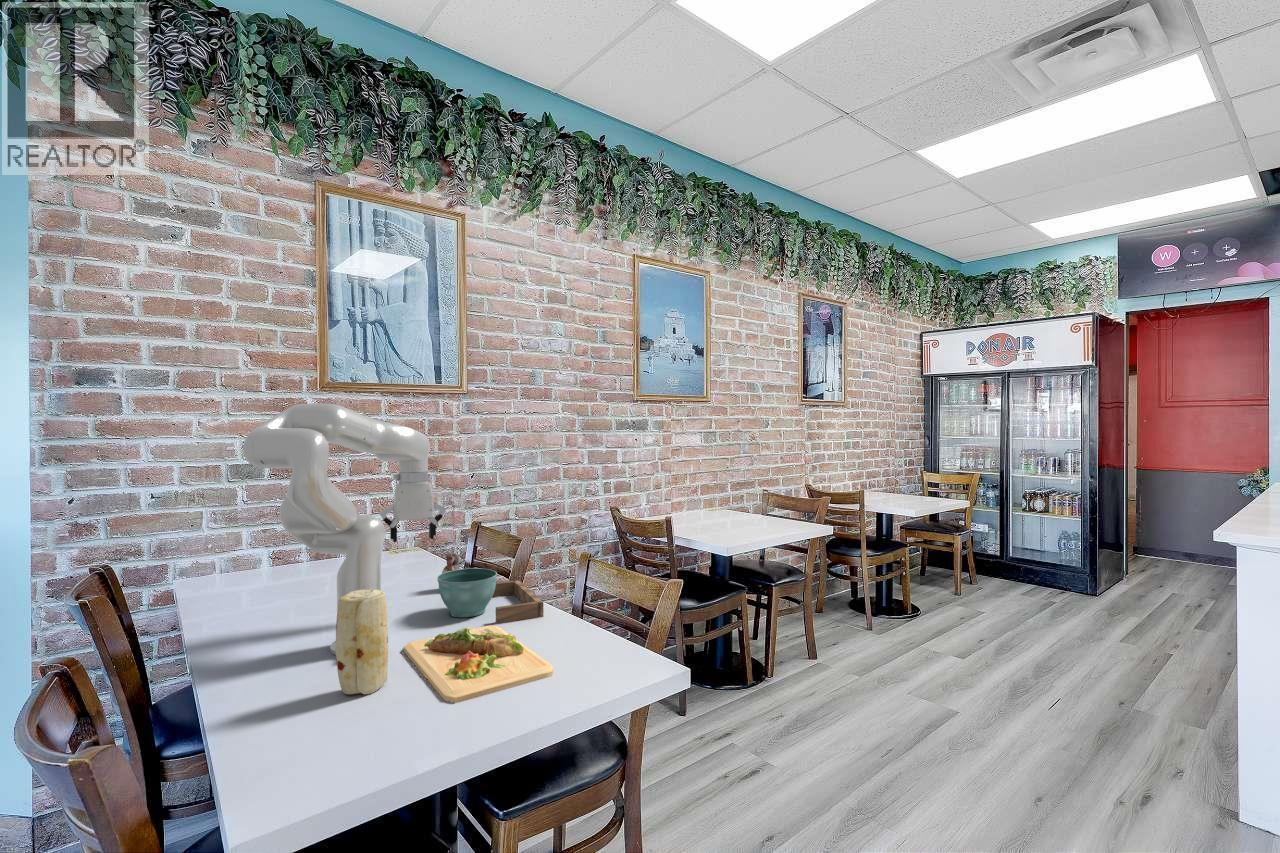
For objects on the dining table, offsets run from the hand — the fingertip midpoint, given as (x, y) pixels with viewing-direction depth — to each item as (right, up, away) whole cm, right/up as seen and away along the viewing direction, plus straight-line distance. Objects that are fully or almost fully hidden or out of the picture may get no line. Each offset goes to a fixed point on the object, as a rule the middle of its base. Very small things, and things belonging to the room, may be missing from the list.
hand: (413, 539), depth 164 cm
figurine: (+3, -21, +26) cm, 34 cm away
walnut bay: (+24, -21, +8) cm, 33 cm away
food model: (+7, -22, -46) cm, 51 cm away
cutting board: (+26, -22, -31) cm, 46 cm away
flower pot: (+14, -21, +3) cm, 26 cm away
